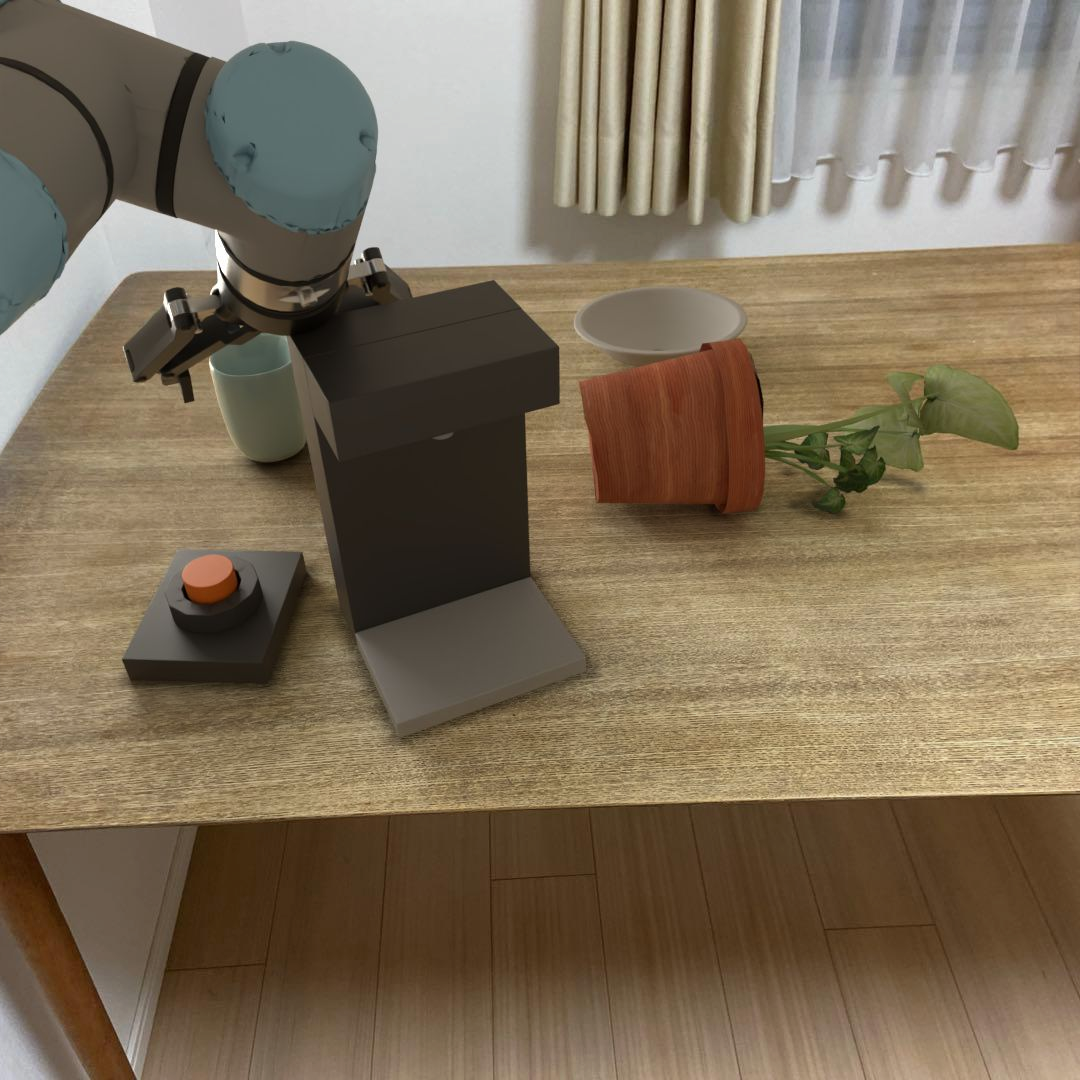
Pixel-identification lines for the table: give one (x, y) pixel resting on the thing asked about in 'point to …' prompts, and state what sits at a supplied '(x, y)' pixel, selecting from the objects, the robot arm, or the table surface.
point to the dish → (658, 322)
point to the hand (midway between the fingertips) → (273, 365)
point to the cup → (259, 398)
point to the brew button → (209, 579)
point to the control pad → (218, 622)
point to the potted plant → (762, 430)
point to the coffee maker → (434, 496)
